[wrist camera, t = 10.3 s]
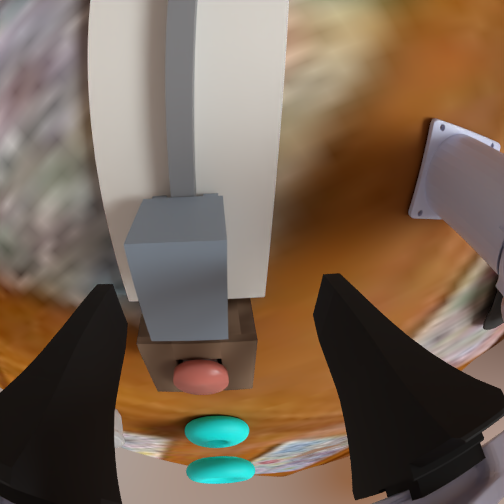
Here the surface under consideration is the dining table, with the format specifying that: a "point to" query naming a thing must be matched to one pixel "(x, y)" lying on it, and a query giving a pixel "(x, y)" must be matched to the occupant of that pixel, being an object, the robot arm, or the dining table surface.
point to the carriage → (180, 267)
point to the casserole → (494, 313)
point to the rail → (190, 116)
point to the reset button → (200, 376)
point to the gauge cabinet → (206, 350)
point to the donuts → (218, 436)
